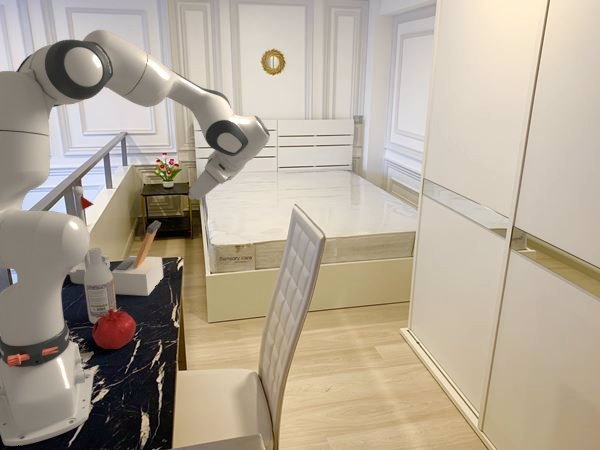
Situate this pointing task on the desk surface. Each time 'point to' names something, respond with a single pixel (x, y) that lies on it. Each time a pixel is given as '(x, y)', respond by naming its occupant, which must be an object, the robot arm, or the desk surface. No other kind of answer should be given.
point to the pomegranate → (114, 329)
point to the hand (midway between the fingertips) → (191, 196)
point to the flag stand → (81, 268)
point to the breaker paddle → (147, 242)
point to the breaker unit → (137, 276)
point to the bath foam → (98, 287)
